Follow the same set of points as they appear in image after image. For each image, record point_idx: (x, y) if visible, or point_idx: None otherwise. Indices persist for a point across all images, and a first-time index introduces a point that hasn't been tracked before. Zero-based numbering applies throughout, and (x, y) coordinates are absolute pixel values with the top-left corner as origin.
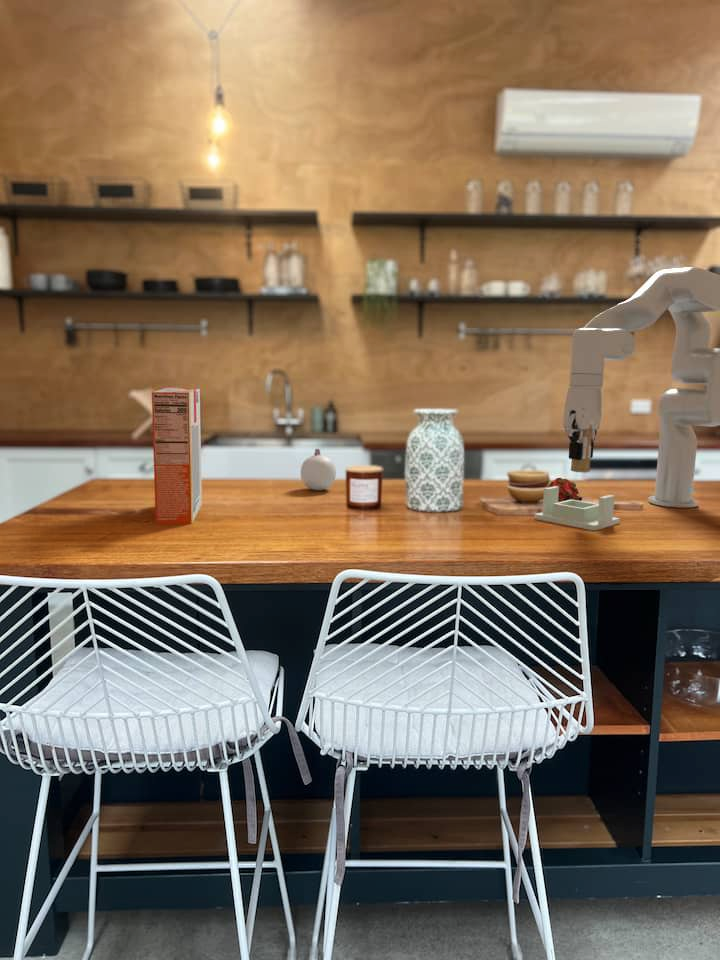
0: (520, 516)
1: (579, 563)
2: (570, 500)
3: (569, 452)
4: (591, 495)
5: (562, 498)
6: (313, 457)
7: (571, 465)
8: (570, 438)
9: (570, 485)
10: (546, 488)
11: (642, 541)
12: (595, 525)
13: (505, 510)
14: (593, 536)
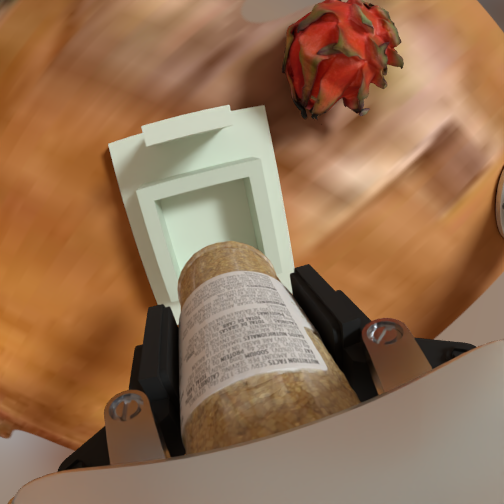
0: (99, 98)
1: (17, 427)
2: (242, 173)
3: (146, 331)
4: (476, 42)
5: (294, 89)
6: None
7: (188, 275)
8: (95, 446)
9: (360, 77)
10: (152, 129)
11: None
12: None
13: (125, 15)
14: (126, 353)
